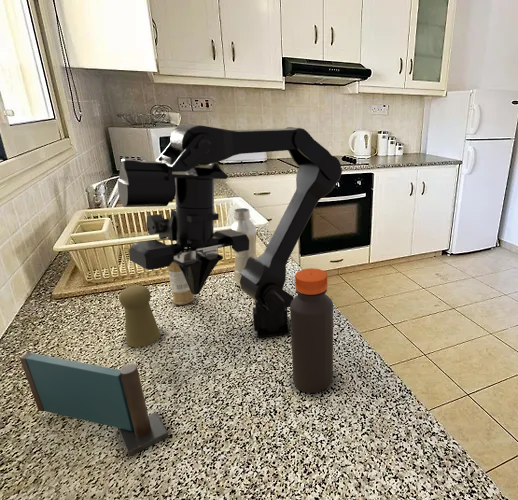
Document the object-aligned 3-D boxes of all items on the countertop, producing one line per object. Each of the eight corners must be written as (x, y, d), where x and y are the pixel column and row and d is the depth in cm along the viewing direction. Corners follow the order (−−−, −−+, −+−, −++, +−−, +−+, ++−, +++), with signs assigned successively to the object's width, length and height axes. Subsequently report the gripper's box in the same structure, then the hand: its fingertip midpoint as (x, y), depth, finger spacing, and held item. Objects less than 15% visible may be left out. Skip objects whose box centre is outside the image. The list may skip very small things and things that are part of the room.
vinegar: (288, 372, 66) (283, 269, 58) (325, 363, 68) (324, 263, 61) (299, 399, 60) (295, 287, 53) (338, 387, 62) (340, 280, 55)
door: (47, 403, 56) (29, 351, 53) (138, 424, 53) (125, 370, 50) (38, 410, 55) (19, 357, 52) (131, 431, 52) (117, 376, 49)
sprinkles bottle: (195, 295, 91) (187, 244, 86) (192, 304, 87) (184, 251, 82) (175, 297, 90) (166, 245, 85) (171, 306, 86) (161, 252, 81)
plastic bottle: (238, 292, 93) (230, 215, 86) (232, 281, 98) (225, 208, 91) (263, 287, 96) (258, 212, 88) (256, 277, 101) (251, 205, 94)
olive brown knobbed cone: (146, 349, 71) (135, 298, 67) (118, 344, 72) (106, 294, 68) (167, 331, 76) (158, 283, 72) (141, 327, 78) (131, 280, 74)
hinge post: (157, 415, 56) (143, 352, 52) (168, 436, 53) (154, 370, 48) (119, 433, 53) (102, 367, 49) (128, 457, 49) (110, 387, 45)
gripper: (215, 194, 72) (213, 269, 76) (109, 199, 57) (115, 292, 62) (253, 205, 66) (249, 286, 70) (146, 214, 51) (149, 316, 56)
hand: (195, 293), depth 65 cm, fingers closed
